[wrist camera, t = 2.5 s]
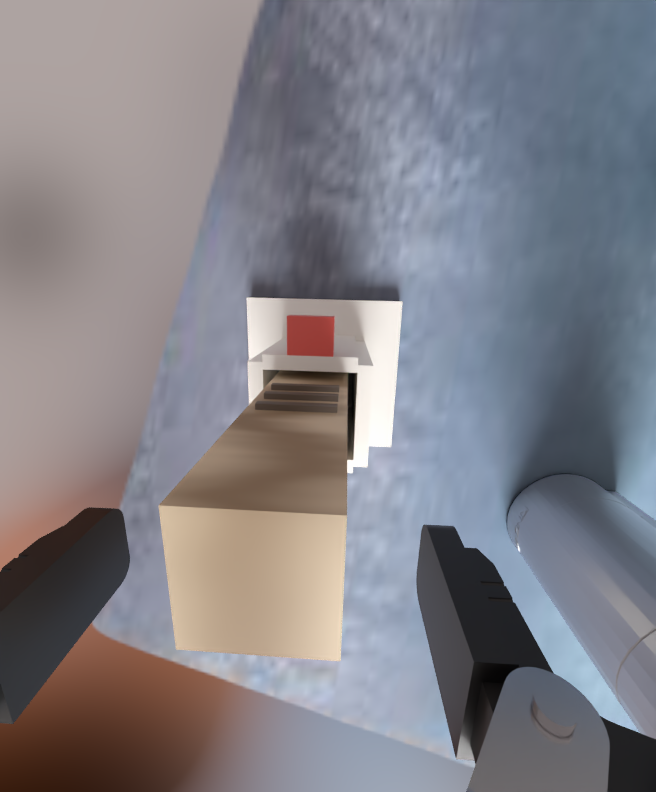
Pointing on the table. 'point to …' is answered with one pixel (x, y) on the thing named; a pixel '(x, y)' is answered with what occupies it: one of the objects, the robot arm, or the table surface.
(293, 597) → the post
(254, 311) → the sleeve stand
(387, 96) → the table surface
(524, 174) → the table surface
